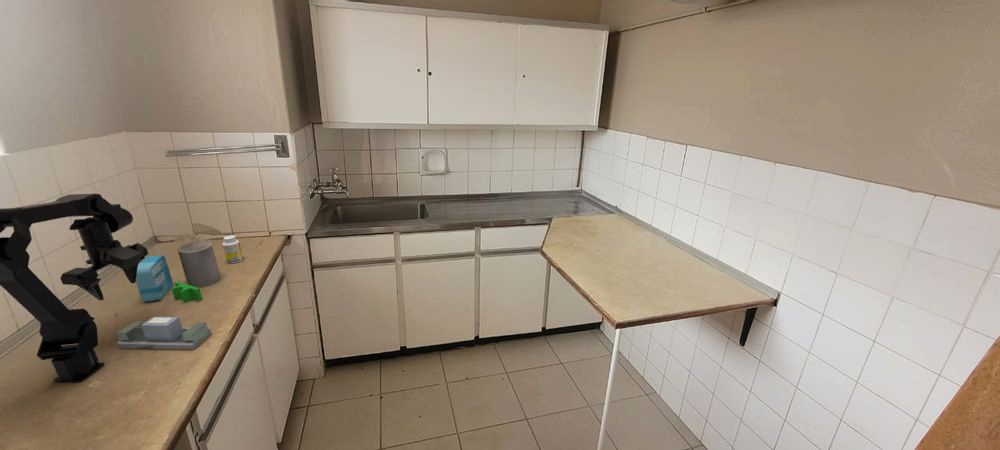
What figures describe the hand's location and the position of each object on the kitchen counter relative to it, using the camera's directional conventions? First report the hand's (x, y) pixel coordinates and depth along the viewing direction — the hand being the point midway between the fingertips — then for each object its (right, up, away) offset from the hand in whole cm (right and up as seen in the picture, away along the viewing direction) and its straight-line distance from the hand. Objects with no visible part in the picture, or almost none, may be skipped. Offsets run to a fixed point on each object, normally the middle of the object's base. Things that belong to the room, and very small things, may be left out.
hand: (118, 291), depth 110 cm
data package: (-8, -5, +23) cm, 25 cm away
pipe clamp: (+3, -6, +20) cm, 21 cm away
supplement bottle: (+1, +4, +47) cm, 47 cm away
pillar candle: (+1, -2, +31) cm, 31 cm away
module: (+15, -12, -2) cm, 19 cm away
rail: (+15, -14, -1) cm, 20 cm away
